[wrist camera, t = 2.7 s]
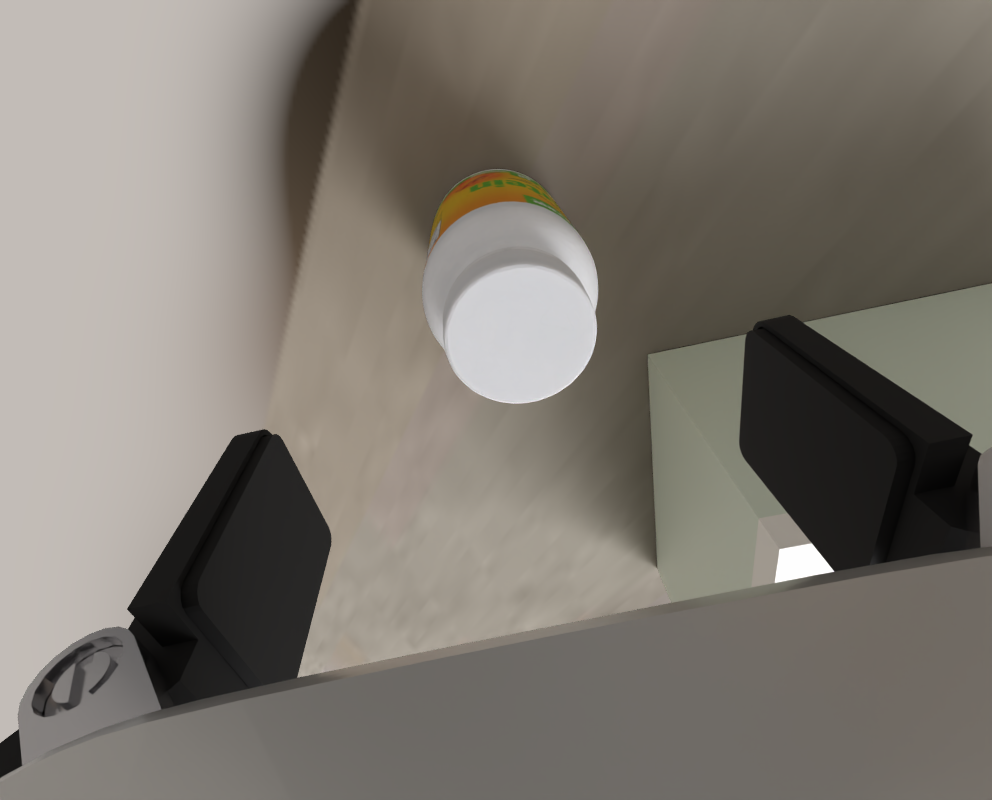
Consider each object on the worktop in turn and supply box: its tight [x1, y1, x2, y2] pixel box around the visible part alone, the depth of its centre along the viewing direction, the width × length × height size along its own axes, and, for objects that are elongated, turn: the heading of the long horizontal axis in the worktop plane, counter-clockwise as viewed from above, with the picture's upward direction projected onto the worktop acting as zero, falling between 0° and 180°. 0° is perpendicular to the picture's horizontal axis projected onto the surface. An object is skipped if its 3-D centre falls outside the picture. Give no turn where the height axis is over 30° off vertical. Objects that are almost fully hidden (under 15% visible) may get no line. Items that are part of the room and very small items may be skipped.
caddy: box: [648, 283, 992, 603], centre depth 23 cm, size 16×18×12 cm
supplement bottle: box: [422, 169, 598, 404], centre depth 17 cm, size 5×5×10 cm
